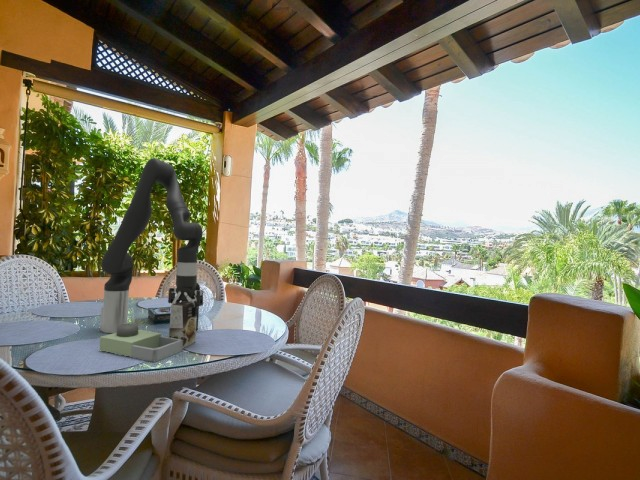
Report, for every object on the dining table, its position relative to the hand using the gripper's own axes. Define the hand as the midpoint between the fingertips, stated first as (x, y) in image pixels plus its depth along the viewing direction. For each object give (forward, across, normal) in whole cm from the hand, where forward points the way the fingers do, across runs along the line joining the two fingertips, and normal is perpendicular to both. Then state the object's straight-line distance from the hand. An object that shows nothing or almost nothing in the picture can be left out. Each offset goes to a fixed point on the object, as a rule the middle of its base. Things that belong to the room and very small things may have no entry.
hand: (184, 315), depth 145 cm
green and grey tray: (+11, +6, +13) cm, 18 cm away
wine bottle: (+11, +11, -18) cm, 24 cm away
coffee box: (+11, 0, 0) cm, 11 cm away
